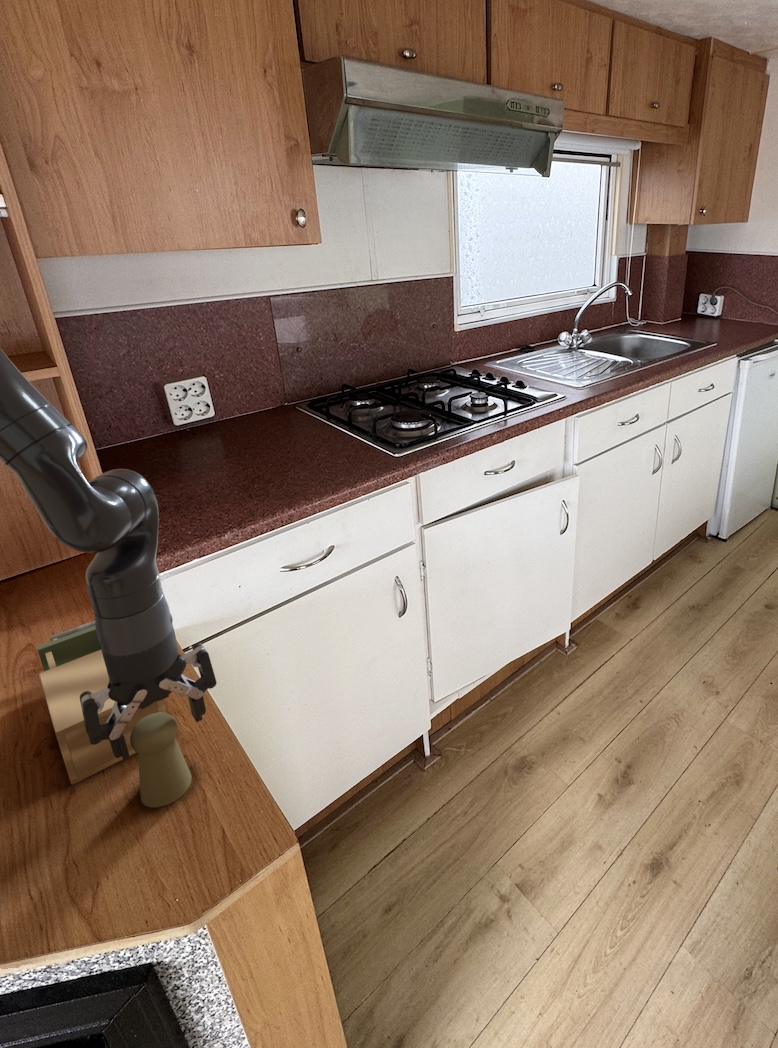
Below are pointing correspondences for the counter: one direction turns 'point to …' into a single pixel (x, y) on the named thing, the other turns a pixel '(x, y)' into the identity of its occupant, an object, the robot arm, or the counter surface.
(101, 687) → the cabinet
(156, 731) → the cork
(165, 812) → the counter surface
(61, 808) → the counter surface
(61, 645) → the drawer
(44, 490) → the robot arm
